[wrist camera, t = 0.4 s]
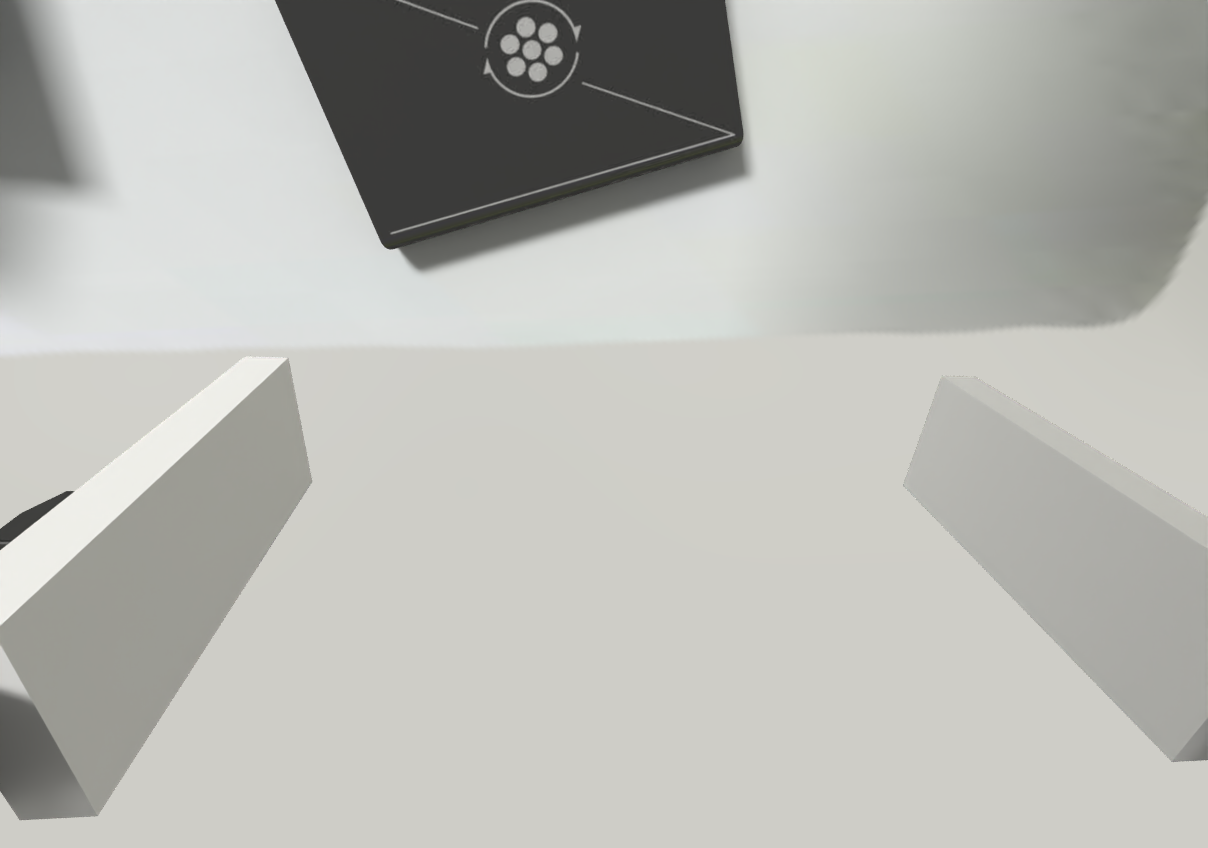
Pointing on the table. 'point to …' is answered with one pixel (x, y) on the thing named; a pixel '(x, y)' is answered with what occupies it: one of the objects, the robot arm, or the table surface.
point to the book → (512, 99)
